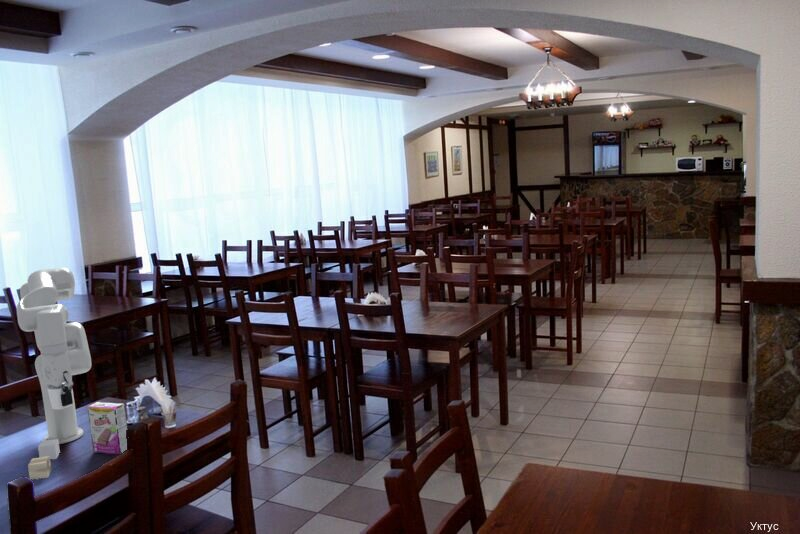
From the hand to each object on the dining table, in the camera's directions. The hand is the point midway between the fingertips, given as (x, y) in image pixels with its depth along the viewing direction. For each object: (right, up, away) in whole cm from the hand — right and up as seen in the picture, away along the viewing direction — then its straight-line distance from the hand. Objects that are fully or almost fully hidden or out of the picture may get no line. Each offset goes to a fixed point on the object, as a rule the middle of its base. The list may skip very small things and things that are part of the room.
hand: (61, 402), depth 211 cm
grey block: (-9, -20, +10) cm, 24 cm away
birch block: (-5, -22, -3) cm, 23 cm away
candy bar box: (+11, -19, +12) cm, 25 cm away
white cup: (0, -1, 0) cm, 1 cm away
